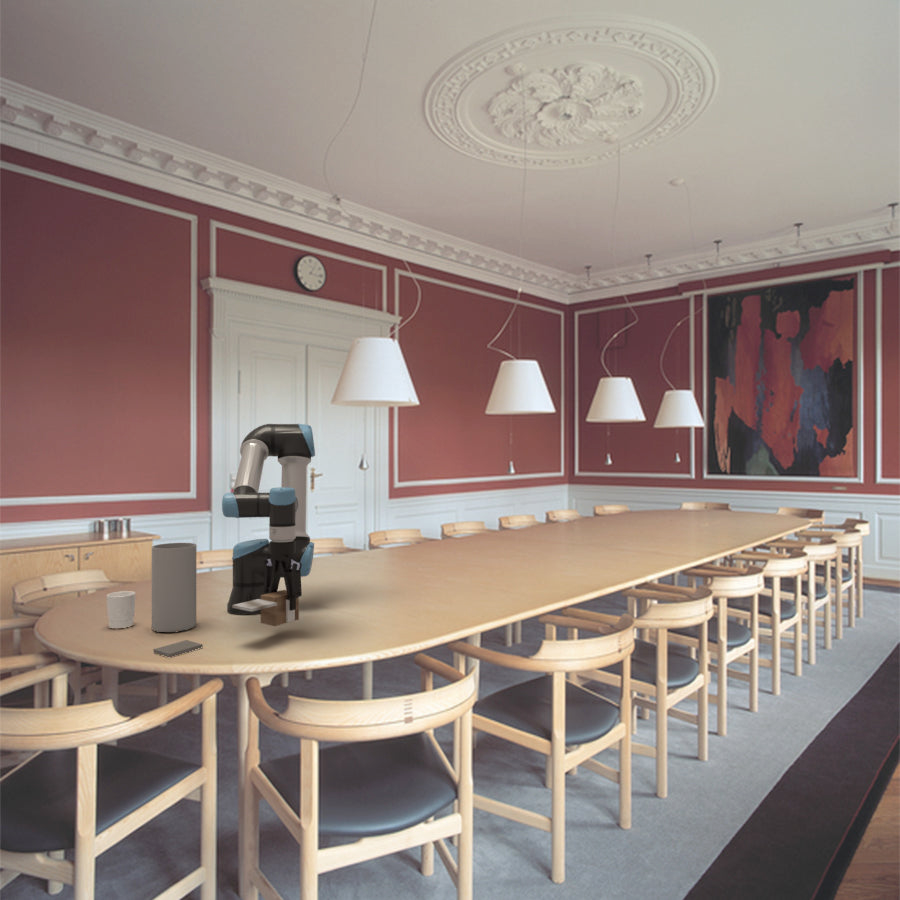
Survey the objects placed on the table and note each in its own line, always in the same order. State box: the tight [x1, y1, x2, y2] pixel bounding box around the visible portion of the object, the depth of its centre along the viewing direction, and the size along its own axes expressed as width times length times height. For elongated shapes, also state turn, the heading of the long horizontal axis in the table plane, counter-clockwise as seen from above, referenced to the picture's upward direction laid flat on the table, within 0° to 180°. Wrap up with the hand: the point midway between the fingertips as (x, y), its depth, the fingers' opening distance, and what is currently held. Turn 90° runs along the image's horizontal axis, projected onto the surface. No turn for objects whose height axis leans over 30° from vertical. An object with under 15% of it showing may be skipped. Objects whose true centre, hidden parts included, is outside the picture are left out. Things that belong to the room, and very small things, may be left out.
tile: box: [152, 639, 203, 658], centre depth 176 cm, size 7×2×10 cm
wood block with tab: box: [232, 589, 300, 627], centre depth 186 cm, size 18×8×8 cm, turn 146°
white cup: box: [106, 590, 136, 629], centre depth 200 cm, size 8×8×10 cm
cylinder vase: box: [151, 542, 197, 633], centre depth 198 cm, size 12×12×25 cm
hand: (282, 619), depth 191 cm, fingers closed on wood block with tab, 6 cm apart
